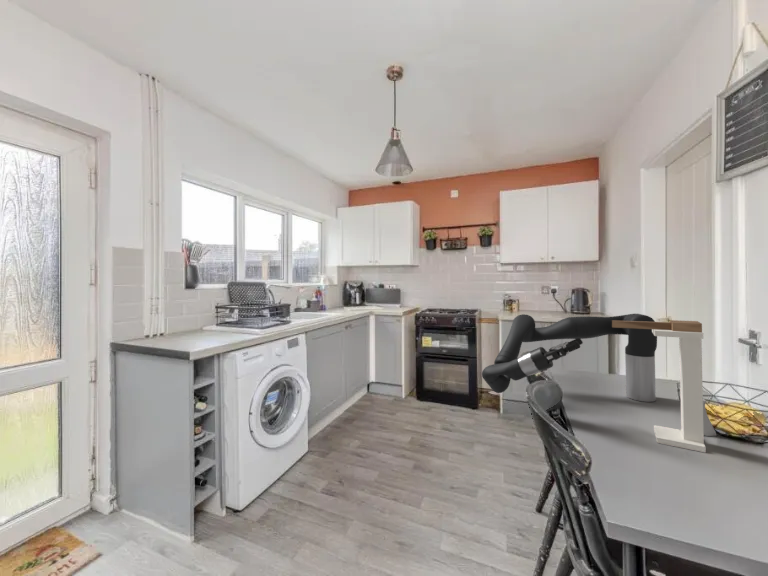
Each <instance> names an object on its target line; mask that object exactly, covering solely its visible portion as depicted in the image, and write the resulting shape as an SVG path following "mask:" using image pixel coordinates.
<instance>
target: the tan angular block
mask: <svg viewBox="0 0 768 576" xmlns="http://www.w3.org/2000/svg"><path fill="white" fill-rule="evenodd" d="M612 327H613V328H636V329H658V330H672V331H682V332H702V333H703V324H702V322H700V321H698V320H676V319H675V320H674V319H673V320H672V319H670V320H669V321H655V322H646V321H617V320H612Z"/></svg>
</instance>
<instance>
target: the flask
mask: <svg viewBox="0 0 768 576" xmlns="http://www.w3.org/2000/svg"><path fill="white" fill-rule="evenodd" d="M706 403H707V400H706V399H705V398H703V433H704V436H706V437H712V436H717V433H716V431H715V428H714V426H713V425H712V422H711V419H710V418H709V416H708V415H709V414H707V410H706Z"/></svg>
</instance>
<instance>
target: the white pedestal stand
mask: <svg viewBox="0 0 768 576" xmlns="http://www.w3.org/2000/svg"><path fill="white" fill-rule="evenodd" d="M652 332H653V334H654V336H657V337H665V338H666V337H667V338H678V339H679V340H678V341H679V342H678V343H679V344H678V345H679V389H680V392H679V393H680V429H678V428H672V427H666V426H663V425H662V426H661V425H655V424H653V431H654V435H655V440H656V443H657V444H662V445H666V446H672V447H676V448H681V449H686V450H691V451H696V452H701V453H704V454H705V453H706V452H707V451H706V450H707V449H706V445H705V442H704V438H705V437H704V436H705V435H704V433H703V399H704V397H703V389H704V387H703V351H702V350H703V348H702V342H703V341H702V339H704V333H703V331H702V332H682V331H672V330H658V329H652Z"/></svg>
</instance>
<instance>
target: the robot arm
mask: <svg viewBox="0 0 768 576" xmlns="http://www.w3.org/2000/svg"><path fill="white" fill-rule="evenodd" d="M612 320H617V321H646V322H656V321H655V320H654V318H652V317H651V316H649V315H646V314H640V313H629V314H621V315H615V316H568V317H565V318H562V319H560V320H558V321H556V322H554V323H553V324H550V325H548V326H544V327H543V326H541V327H536V321H535V319H534V318H533V316H531V315H529V314H524V313H523V314H522V313H521V314H519V315H516V316H515V317H514V319H513V321H512V322H511V328H510V329H509V332H508V335H507V337H506V340H505V341H504V344H503V345H502V347H501V349H500V350H499V353H498V354H497V356H496V358H495V359H494V362H493V363H494V364H490V365H488V366H486V367H484V369H483V370H482V372H481V377H482V379H483V381H484V382H486V383H487V386H489V388H491V390H492V391H493V392H494V393H496V394H501V393H504V392H505V391H506V390H507V389H508V388H509V387H510V385H511V384H510V383H511V380H512V381H520V380H522V379H524V378H527V377H529V376H532V375H536V374H538V373H540V372H541V373H542V372H543V371H546V370H548V369H550V368H553V367H554V361H556V360H559V359H560V358H563V357H565V356H567V355H569V354H570V353H571V352H574V351H576V350H578V349H580V348H581V345H583V343H584V342H583V340H582V339H585V340H586V339H592V338H598V337H602V336H609V335H620V336H621V335H622V336H623V335H624V336H627V340H628V341H627V345H626V346H625V348H624V355H625V356H624V357H625V358H624V359H625V363H624V364H625V396H626V397H627V398H628V399H631V400H635V401H639V402H651V403H652V402H656V401H657V400H656V399H657V395H656V394H657V392H656V389H657V387H656V356H655V355H656V350H657V346H658V336H654V334H653V332H652V329H636V328H613V327H612ZM553 340H571V341H565V342H564V343H559V344H558V345H556V346H551V347H550V348H549V349H548V351H547V350H546V348H544V347H543V346H540V347H537V348H535V349H533V350H531V351H529V352H527V353H524V354H522V355H521V356H519V355H520V352H521V351H520V350H521V348H522V344H523V343H533V342H534V343H536V342H542V341H543V342H544V341H553Z"/></svg>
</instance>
